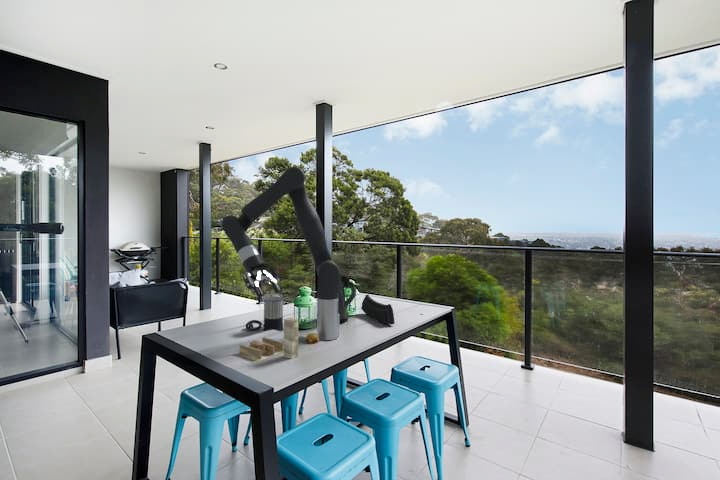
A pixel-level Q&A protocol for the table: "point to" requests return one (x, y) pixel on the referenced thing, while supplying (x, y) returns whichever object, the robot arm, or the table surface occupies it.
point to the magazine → (378, 310)
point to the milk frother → (270, 315)
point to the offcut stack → (259, 346)
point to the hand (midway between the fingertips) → (270, 294)
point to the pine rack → (256, 354)
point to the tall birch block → (291, 338)
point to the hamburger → (312, 338)
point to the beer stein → (341, 301)
